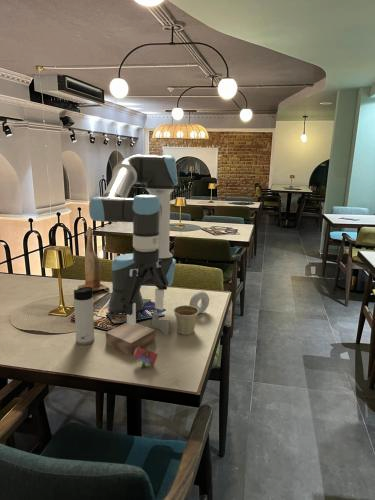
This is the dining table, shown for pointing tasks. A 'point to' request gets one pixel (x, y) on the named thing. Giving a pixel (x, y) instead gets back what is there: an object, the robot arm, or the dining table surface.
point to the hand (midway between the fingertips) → (145, 316)
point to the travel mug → (84, 315)
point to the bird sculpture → (92, 266)
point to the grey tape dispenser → (160, 323)
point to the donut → (204, 301)
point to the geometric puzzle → (145, 355)
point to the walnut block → (130, 337)
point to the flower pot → (186, 318)
